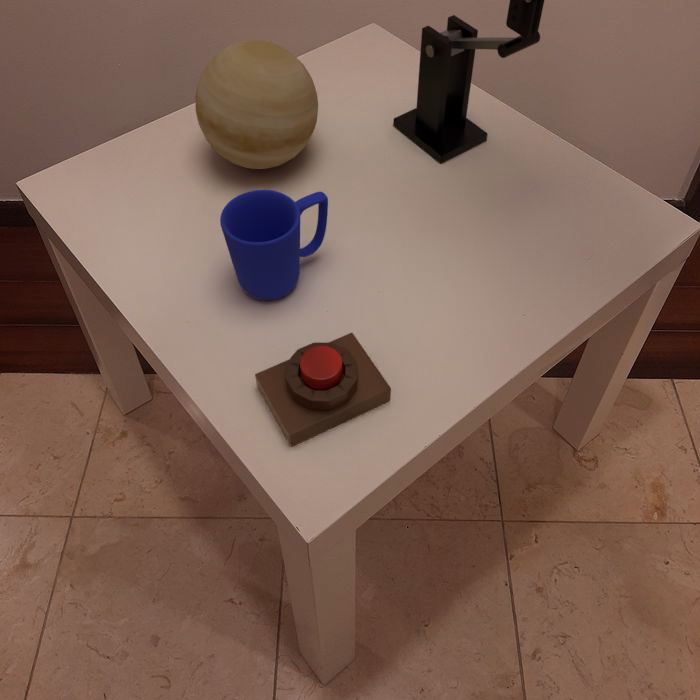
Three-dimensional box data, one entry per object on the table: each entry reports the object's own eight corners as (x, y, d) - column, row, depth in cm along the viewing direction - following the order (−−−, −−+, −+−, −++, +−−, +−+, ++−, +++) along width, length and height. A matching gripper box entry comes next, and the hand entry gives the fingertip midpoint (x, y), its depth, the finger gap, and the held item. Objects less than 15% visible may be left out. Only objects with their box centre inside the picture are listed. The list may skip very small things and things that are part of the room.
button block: (352, 344, 78) (351, 320, 75) (390, 400, 74) (391, 377, 71) (257, 386, 75) (252, 363, 72) (291, 447, 71) (288, 425, 68)
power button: (330, 350, 73) (330, 339, 72) (349, 379, 71) (349, 368, 70) (294, 366, 72) (292, 355, 71) (312, 396, 70) (311, 386, 69)
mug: (348, 274, 84) (347, 207, 76) (256, 320, 80) (244, 255, 72) (309, 232, 89) (304, 165, 81) (220, 274, 84) (205, 208, 77)
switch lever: (541, 47, 81) (539, 24, 80) (508, 63, 79) (504, 39, 78) (458, 46, 92) (455, 26, 91) (427, 60, 90) (423, 39, 89)
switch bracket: (486, 140, 99) (504, 36, 87) (440, 164, 96) (451, 59, 84) (438, 104, 104) (448, 1, 92) (393, 125, 101) (397, 21, 89)
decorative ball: (190, 140, 99) (167, 35, 87) (292, 109, 103) (283, 4, 91) (231, 208, 91) (211, 102, 79) (340, 171, 95) (337, 65, 83)
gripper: (526, -136, 60) (493, 70, 74) (651, -178, 65) (596, 22, 79) (464, -164, 63) (444, 37, 78) (587, -202, 68) (546, -7, 83)
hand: (521, 29), depth 79 cm, fingers closed
